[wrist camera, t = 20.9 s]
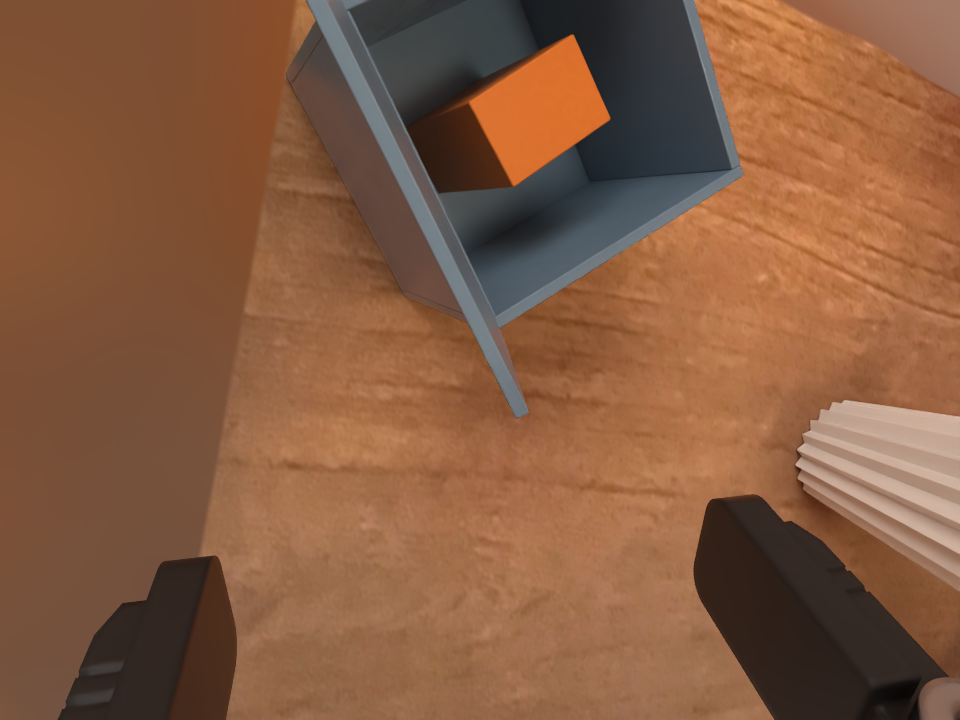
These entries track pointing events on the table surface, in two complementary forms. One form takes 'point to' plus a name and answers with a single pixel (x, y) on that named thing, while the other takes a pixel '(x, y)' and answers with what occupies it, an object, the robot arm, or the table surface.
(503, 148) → the block
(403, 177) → the gray box lid
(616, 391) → the table surface
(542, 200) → the blue box
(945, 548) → the vase
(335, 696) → the table surface
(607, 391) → the table surface
